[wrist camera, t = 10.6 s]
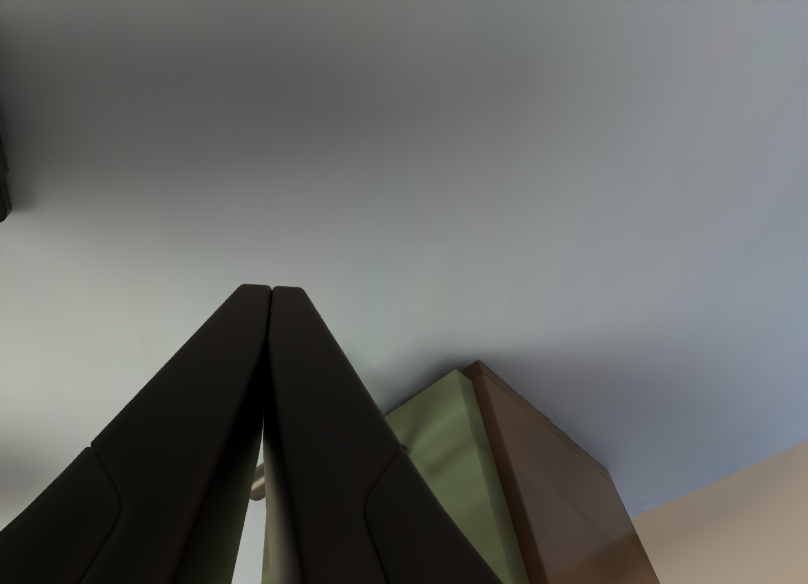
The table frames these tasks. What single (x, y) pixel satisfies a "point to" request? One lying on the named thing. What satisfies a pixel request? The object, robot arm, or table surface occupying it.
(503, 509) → the cabinet drawer
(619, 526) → the bedside cabinet
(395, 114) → the table surface
